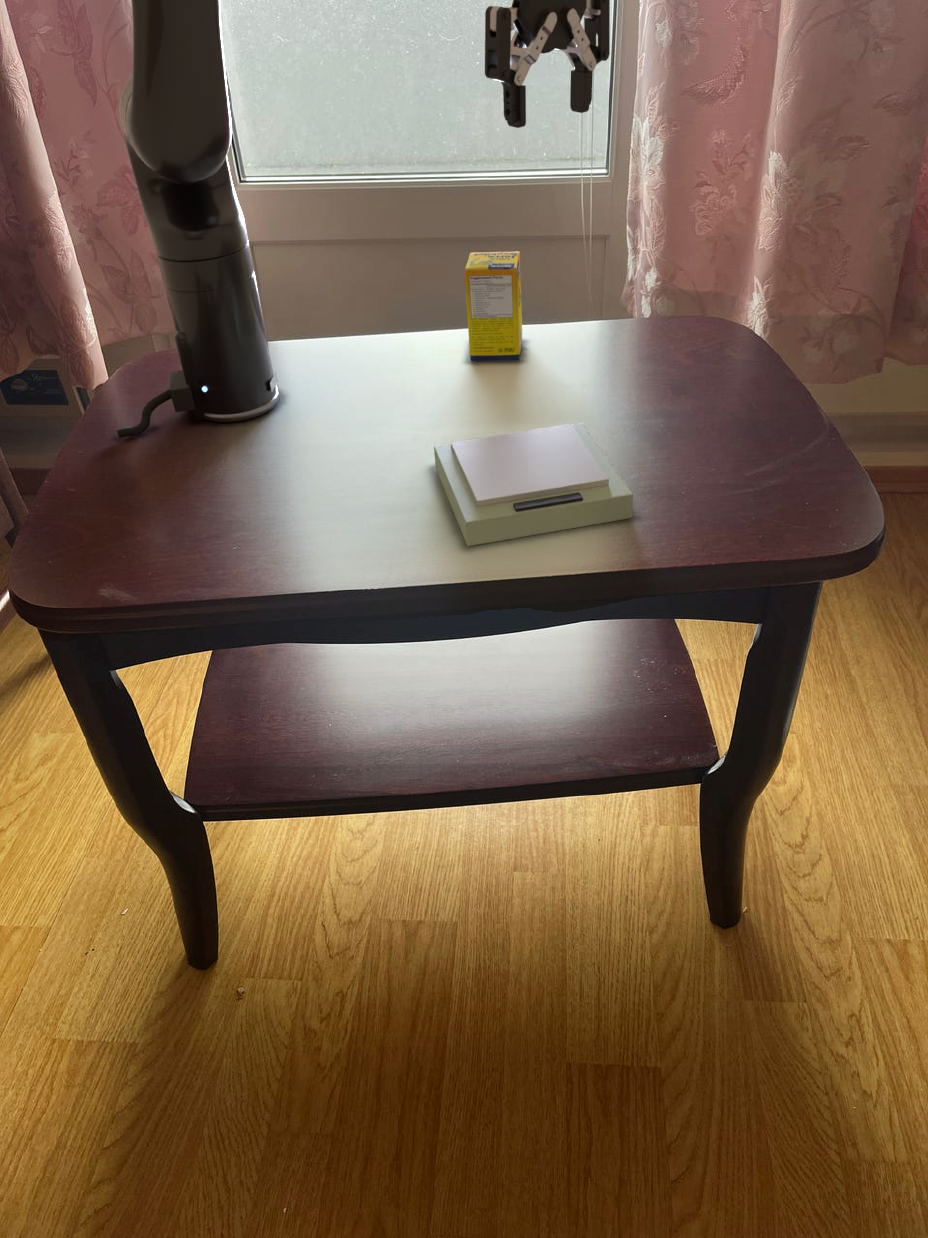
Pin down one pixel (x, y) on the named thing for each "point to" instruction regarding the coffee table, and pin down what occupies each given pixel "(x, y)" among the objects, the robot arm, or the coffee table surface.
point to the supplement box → (494, 306)
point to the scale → (530, 483)
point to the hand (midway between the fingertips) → (548, 118)
